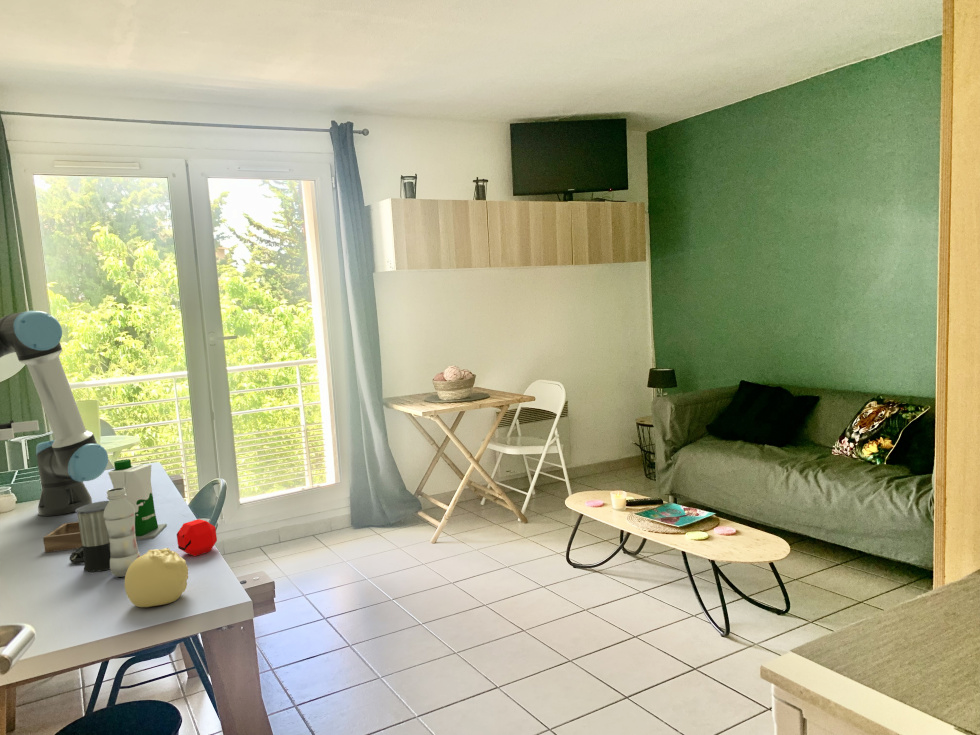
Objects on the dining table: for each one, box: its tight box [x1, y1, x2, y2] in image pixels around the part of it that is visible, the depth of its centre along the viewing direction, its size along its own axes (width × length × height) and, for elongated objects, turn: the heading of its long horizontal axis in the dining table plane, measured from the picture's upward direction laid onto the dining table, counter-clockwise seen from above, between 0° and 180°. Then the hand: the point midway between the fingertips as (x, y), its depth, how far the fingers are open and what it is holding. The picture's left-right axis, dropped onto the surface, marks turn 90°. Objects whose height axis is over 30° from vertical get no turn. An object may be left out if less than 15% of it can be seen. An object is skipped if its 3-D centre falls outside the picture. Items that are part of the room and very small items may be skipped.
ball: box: [176, 518, 218, 557], centre depth 180 cm, size 8×8×8 cm
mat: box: [136, 523, 168, 541], centre depth 201 cm, size 11×11×1 cm
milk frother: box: [69, 500, 110, 573], centre depth 178 cm, size 14×16×15 cm
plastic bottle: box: [103, 488, 141, 578], centre depth 167 cm, size 6×7×20 cm
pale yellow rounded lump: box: [124, 547, 189, 608], centre depth 150 cm, size 12×12×11 cm
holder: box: [42, 521, 82, 554], centre depth 198 cm, size 13×13×4 cm
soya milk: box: [107, 459, 159, 536], centre depth 199 cm, size 9×9×20 cm
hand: (26, 429), depth 194 cm, fingers open, 13 cm apart
